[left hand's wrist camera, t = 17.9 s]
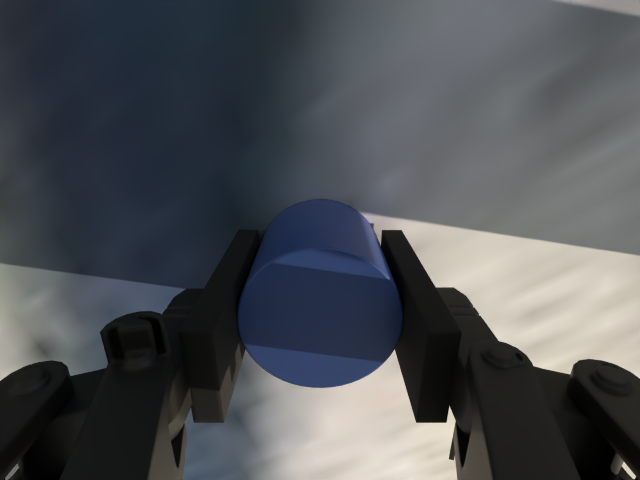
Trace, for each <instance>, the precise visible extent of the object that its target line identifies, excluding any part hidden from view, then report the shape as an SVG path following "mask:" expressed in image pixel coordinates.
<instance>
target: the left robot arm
mask: <svg viewBox="0 0 640 480" xmlns="http://www.w3.org/2000/svg"><path fill="white" fill-rule="evenodd" d="M381 248H382V251H383V253H384V256H385V259H386V261H387V264H388V266H389V269H390V271H391V274H392V277H393V279H394V282H395V284H396V287H397V289H398V292H399V295H400V298H401V301H402V305H403V311H404V317H403V328H402V332H401V336H400V339H399V341H398V343H397V345H396V347H395V351H396V355H397V358H398V362H399V365H400V369H401V372H402V375H403V379H404V382H405V386H406V389H407V393H408V396H409V399H410V403H411V406H412V410H413V413H414V417H415V420H416V423H446V422H447V416H448V410H449V405H450V408H451V410H452V413H453V415H454V417H455V420H456V423H455V428H454V433H453V439H452V444H451V450H450V456H449V459H451V460H454V456H455V460H456V469H457V479H458V480H640V379H639V378H638V377H637V376H635V375H634V374H632V373H631V372H629V371H627V370H625V369H623V368H621V367H619V366H617V365H615V364H612V363H608V362H605V361H601V360H593V359H586V360H579V361H578V362H577V363H575V364H574V365H573V368H572V371H571V374H570V375H569V374H565V373H560V372H555V371H550V370H546V369H541V368H538V367H534V366H533V365H532V362H531V361H530V360H529V358H528V357H527V355H525V354H524V353H523V352H522V351H520V350H519V349H518V348H516V347H513V346H511V345H509V344H507V343H504V342H500V341H498V340H497V338H496V337H495V335H494V334H493V333H492V331H491V330H490V328H489V327H488V326H487V324H486V323H485V321H484V320H483V319H482V317H481V316H479V313H478V312H477V310H476V309H475V308H473V305H472V303H471V302H470V301H469V299H468V298H467V297H466V296H465V295H464V294H462V293H461V292H459V291H458V290H456V289H455V288H436V287H435V286H434V284H433V282H432V281H431V279H430V277H429V276H428V274H427V272H426V271H425V269H424V267H423V266H422V264H421V262H420V261H419V259H418V257H417V256H416V254H415V252H414V250H413V249H412V247H411V245H410V244H409V242H408V240H407V239H406V237H405V235H404V234H403V232H402V230H382V239H381ZM258 249H259V235H258V230H239V231H238V232H237V234H236V236H235V237H234V239H233V241H232V242H231V244H230V246H229V247H228V249H227V251H226V253H225V254H224V256H223V258H222V259H221V261H220V263H219V264H218V266H217V268H216V269H215V271H214V273H213V274H212V276H211V278H210V279H209V281H208V283H207V284H206V286H205V288H204V289H186V290H184V291H183V292H181V293H180V294H178V295H177V296H175V297H174V298H173V300H172V301H171V302H170V304H169V305H168V307H167V309H165V311H164V312H163V314H162V315H161V314H160V313H156V312H152V311H141V312H135V313H130V314H127V315H124V316H122V317H119V318H117V319H115V320H113V321H112V322H110V323H109V324H107V325H106V326H105V327H104V328H103V329H102V331H101V332H100V334H101V338H102V341H103V345H104V349H105V353H106V356H107V360H108V365H107V368H104V369H101V370H97V371H92V372H88V373H83V374H78V375H74V376H70V374H69V371H68V367H67V366H66V365H65V364H63V363H62V362H58V361H44V362H38V363H34V364H32V365H31V364H30V365H28V366H25V367H23V368H21V369H19V370H17V371H15V372H13V373H11V374H9V375H8V376H7V377H5V378H4V379H2V380H1V381H0V480H5V477H6V476H7V475H8V474H9V472H10V471H11V470H12V469H13V467H14V466H15V465H16V464H17V463H18V466H19V469H18V470H17V471H16V472H15V474H14V475H13V476H12V477H11V478H10V479H8V480H183V470H184V460H185V451H186V441H187V434H186V428H185V423H184V422H185V420H186V417H187V415H188V412H189V410H190V408H191V409H192V415H193V421H194V423H224V421H225V417H226V414H227V410H228V407H229V404H230V400H231V397H232V393H233V390H234V386H235V383H236V380H237V376H238V373H239V369H240V366H241V362H242V359H243V356H244V352H245V349H246V348H245V346H244V345H243V343H242V340H241V337H240V335H239V331H238V326H237V308H238V303H239V299H240V296H241V293H242V291H243V288H244V285H245V283H246V280H247V278H248V275H249V273H250V270H251V267H252V265H253V262H254V260H255V257H256V255H257V252H258ZM623 462H625V463H626V464H627V466H628V467H629V468H630V469H631V471H632V472H633V473H634V474H635V475H636V478H635V479H632V478H631V477H630V476H629V475H628V474H627V472H626V471H625V470H624V469H623V467H622V464H623Z"/></svg>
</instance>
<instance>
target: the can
mask: <svg viewBox="0 0 640 480" xmlns="http://www.w3.org/2000/svg"><path fill="white" fill-rule="evenodd" d="M403 317H404V311H403V305H402V301H401V298H400V295H399V292H398V289H397V287H396V284H395V282H394V279H393V277H392V274H391V271H390V269H389V266H388V264H387V261H386V259H385V256H384V253H383V251H382V248H381V246H380V243H379V241H378V238H377V236H376V233H375V231H374V229H373V228H372V226H371V225H370V223H369V222H368V221H367V220H366V219H365V217H364V216H363V215H361V214H360V213H359V212H358V211H356V210H355V209H353V208H351V207H350V206H347V205H345V204H343V203H340V202H336V201H331V200H320V199H318V200H309V201H304V202H301V203H298V204H295V205H293V206H291V207H289V208H287V209H286V210H284V211H283V212H281V213H280V214H279V215H278V216H277V217H276V218H275V219H274V220H273V221H272V222H271V224H270V225H269V227H268V228H267V230H266V232H265V234H264V237H263V239H262V242H261V244H260V247H259V249H258V252H257V255H256V257H255V260H254V262H253V265H252V267H251V270H250V273H249V275H248V278H247V280H246V283H245V285H244V288H243V291H242V293H241V296H240V299H239V303H238V308H237V326H238V331H239V335H240V337H241V340H242V343H243V345H244V346H245V348H246V350H247V352H248V353H249V354H250V356H251V357H252V358H253V359H254V361H255V362H256V363H257V364H258V365H259V366H261V367H262V368H263V369H264V370H266V371H267V372H268V373H270V374H272V375H273V376H275V377H277V378H279V379H281V380H283V381H286V382H289V383H291V384H295V385H299V386H304V387H312V388H327V387H336V386H342V385H345V384H349V383H352V382H355V381H357V380H360V379H362V378H363V377H365V376H367V375H369V374H371V373H372V372H373V371H375V370H376V369H378V368H379V367H380V366H381V365H382V364H383V363H384V362H385V361H386V360H387V359H388V358H389V356H390V355H391V354H392V352H393V351H394V349H395V347H396V345H397V343H398V341H399V339H400V336H401V332H402V328H403Z"/></svg>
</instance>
